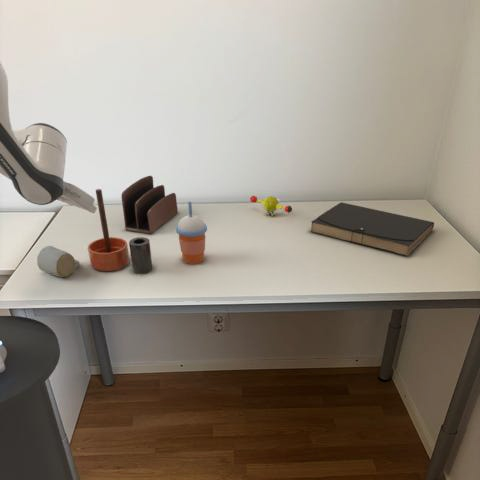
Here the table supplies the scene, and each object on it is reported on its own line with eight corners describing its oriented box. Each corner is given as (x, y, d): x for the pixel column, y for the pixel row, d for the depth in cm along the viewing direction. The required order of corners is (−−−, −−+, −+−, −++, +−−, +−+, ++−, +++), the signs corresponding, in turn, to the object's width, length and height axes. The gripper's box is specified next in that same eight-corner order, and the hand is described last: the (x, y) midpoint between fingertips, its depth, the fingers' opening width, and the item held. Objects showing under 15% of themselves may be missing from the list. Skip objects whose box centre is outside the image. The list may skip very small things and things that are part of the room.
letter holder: (125, 230, 173) (119, 190, 165) (154, 210, 189) (150, 172, 181) (151, 234, 170) (146, 193, 162) (178, 213, 186) (175, 174, 178)
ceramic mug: (60, 282, 144) (55, 257, 139) (39, 275, 147) (33, 251, 143) (87, 267, 151) (82, 243, 147) (66, 261, 155) (61, 237, 151)
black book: (310, 220, 168) (343, 200, 185) (309, 232, 170) (341, 211, 187) (409, 244, 152) (435, 219, 168) (406, 257, 154) (432, 231, 171)
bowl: (113, 275, 147) (110, 256, 143) (83, 267, 151) (79, 249, 148) (137, 259, 155) (134, 241, 152) (107, 252, 159) (104, 234, 156)
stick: (111, 263, 152) (99, 191, 140) (106, 262, 152) (94, 190, 140) (114, 261, 153) (102, 189, 141) (109, 260, 153) (97, 188, 141)
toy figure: (295, 218, 180) (296, 200, 176) (286, 223, 177) (287, 205, 173) (256, 207, 190) (256, 189, 186) (246, 211, 186) (246, 193, 183)
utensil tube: (145, 275, 146) (141, 246, 141) (129, 271, 148) (125, 243, 144) (156, 267, 151) (153, 239, 146) (140, 263, 153) (137, 235, 148)
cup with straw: (180, 267, 150) (175, 209, 140) (176, 254, 158) (172, 197, 148) (210, 264, 152) (208, 206, 142) (206, 251, 159) (203, 195, 149)
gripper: (74, 176, 122) (113, 204, 134) (27, 161, 133) (66, 189, 145) (62, 199, 122) (101, 225, 133) (15, 183, 133) (56, 208, 144)
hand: (83, 206), depth 139 cm, fingers open, 8 cm apart
